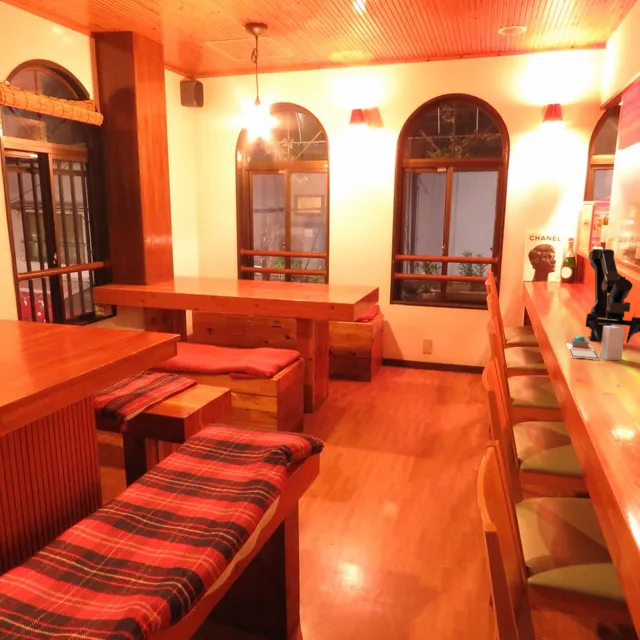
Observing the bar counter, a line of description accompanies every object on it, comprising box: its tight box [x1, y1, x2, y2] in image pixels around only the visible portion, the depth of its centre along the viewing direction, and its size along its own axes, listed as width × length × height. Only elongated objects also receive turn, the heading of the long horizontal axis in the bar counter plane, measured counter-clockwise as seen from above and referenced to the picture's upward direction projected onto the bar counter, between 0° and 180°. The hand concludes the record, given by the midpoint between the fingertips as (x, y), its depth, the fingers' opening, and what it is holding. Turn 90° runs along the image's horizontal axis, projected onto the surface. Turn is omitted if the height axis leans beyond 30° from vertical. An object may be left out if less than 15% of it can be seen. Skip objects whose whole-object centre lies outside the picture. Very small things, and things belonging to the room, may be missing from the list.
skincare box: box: [599, 325, 626, 361], centre depth 198 cm, size 6×4×12 cm
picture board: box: [565, 337, 600, 361], centre depth 207 cm, size 20×9×3 cm, turn 162°
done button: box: [575, 335, 586, 341], centre depth 213 cm, size 3×3×2 cm
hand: (612, 341), depth 197 cm, fingers open, 9 cm apart
